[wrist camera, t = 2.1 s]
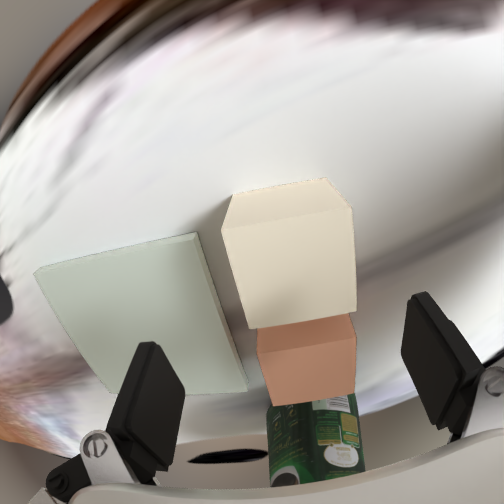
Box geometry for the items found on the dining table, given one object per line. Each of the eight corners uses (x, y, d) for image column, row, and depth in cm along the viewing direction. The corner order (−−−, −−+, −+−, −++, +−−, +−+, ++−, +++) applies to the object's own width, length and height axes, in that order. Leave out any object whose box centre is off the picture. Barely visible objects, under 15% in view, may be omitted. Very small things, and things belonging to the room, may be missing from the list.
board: (196, 231, 20) (193, 239, 19) (248, 382, 27) (247, 391, 26) (40, 267, 22) (33, 274, 21) (113, 385, 29) (110, 393, 28)
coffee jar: (315, 425, 31) (327, 562, 14) (256, 413, 30) (250, 567, 13) (366, 380, 27) (403, 546, 10) (301, 363, 26) (317, 565, 9)
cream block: (325, 177, 18) (351, 207, 13) (335, 259, 21) (356, 311, 15) (233, 193, 19) (220, 230, 13) (252, 273, 21) (249, 329, 16)
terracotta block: (337, 282, 22) (356, 336, 16) (340, 338, 24) (354, 393, 19) (258, 295, 22) (256, 353, 17) (272, 350, 25) (273, 406, 20)
